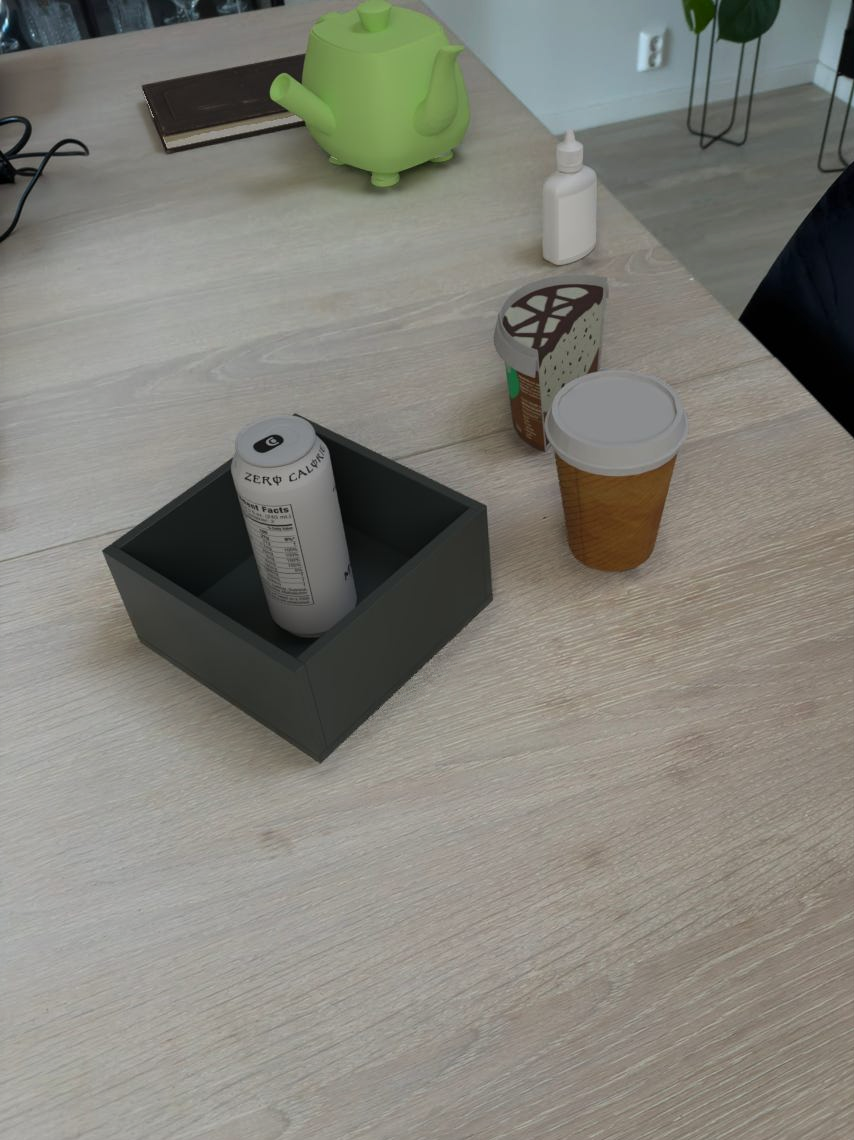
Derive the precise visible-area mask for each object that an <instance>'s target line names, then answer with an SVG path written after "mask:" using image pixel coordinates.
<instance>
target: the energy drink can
mask: <svg viewBox="0 0 854 1140" xmlns="http://www.w3.org/2000/svg"><path fill="white" fill-rule="evenodd" d="M234 448H235V449H234V450H235V452H234V455H233V456H232V457H233V460H232V464H231V473H232V476H233V480H234V484H235V487H236V491H237V494H238V498H239V502H240V505H241V509H242V512H243V516H244V520H245V523H246V527H247V530H248V534H249V538H250V541H251V545H252V548H253V552H254V556H255V559H256V563H257V566H258V570H259V574H260V577H261V581H262V584H263V588H264V592H265V595H266V599H267V602H268V606H269V610H270V613H271V615H272V618H273V619H274V621H275V622H276V623H277V624H278V625H279V626H280V627H282V628H284V629H286V630H288V631H289V632H290V633H292V634H294V635H297V636H300V637H307V638H313V637H321V636H322V635H324V634H325V633H326V632H327V631H328V630H329V629H331V628H332V627H333V626H334V625H335V624H336V623H337V622H339V621H340V620H341V619H342V618H343V617H344V616H346V615H347V614H348V613H349V612H350V611H351V610H353V609H354V608H355V605H356V600H357V595H356V590H355V585H354V580H353V574H352V569H351V564H350V559H349V554H348V548H347V543H346V538H345V533H344V528H343V523H342V517H341V512H340V507H339V502H338V497H337V491H336V486H335V481H334V476H333V471H332V466H331V460H330V455H329V450H328V448H327V446H326V445H325V444H324V442H323V441H322V440H321V439H320V438H319V437H318V436H316V435H315V430H314V428H313V427H312V425H311V424H310V423H309V422H308V421H306V420H304V419H303V418H300V417H297V416H293V414H273V415H267V416H263V417H260V418H258V419H255V420H253V421H252V422H250V423H248V424H247V425H246V426H244V427H243V428H242V429H241V430H240V431H239V433H238V434H237V436H236V438H235V441H234Z"/></svg>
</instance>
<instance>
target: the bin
mask: <svg viewBox="0 0 854 1140" xmlns="http://www.w3.org/2000/svg"><path fill="white" fill-rule="evenodd" d="M292 415H293V416H297V417H300V418H303V419H304V420H306V421H308V422H309V423H310V424H311V425H312V427H313V428H314V430H315V435H316V436H318V437H319V438H320V439H321V440H322V441H323V442H324V444H325V445H326V446H327V448H328V450H329V455H330V460H331V466H332V471H333V476H334V481H335V486H336V491H337V497H338V502H339V507H340V512H341V517H342V523H343V528H344V533H345V538H346V543H347V548H348V554H349V559H350V564H351V569H352V574H353V580H354V585H355V590H356V595H357V600H356V605H355V608H354V609H353V610H351V611H350V612H349V613H348V614H347V615H346V616H344V617H343V618H342V619H341V620H340V621H339V622H337V623H336V624H335V625H334V626H333V627H332V628H331V629H329V630H328V631H327V632H326V633H325V634H324V635H322V636H321V637H313V638H307V637H300V636H297V635H294V634H292V633H290V632H289V631H288V630H286V629H284V628H282V627H280V626H279V625H278V624H277V623H276V622H275V621H274V619H273V618H272V615H271V613H270V610H269V606H268V602H267V599H266V595H265V592H264V588H263V584H262V581H261V577H260V574H259V570H258V566H257V563H256V559H255V556H254V552H253V548H252V545H251V541H250V538H249V534H248V530H247V527H246V523H245V520H244V516H243V512H242V509H241V505H240V502H239V498H238V494H237V491H236V487H235V484H234V480H233V476H232V473H231V464H232V460H233V457H234V456H232V457H231V458H230V459H228V460H227V461H225V462H224V463H223V464H221V465H220V466H219V467H217V468H216V469H214V470H213V471H211V472H209V474H207V475H206V476H204V477H203V478H201V479H200V480H198V481H197V482H196V483H194V484H193V485H192V486H191V487H189V488H187V489H186V490H185V491H183V492H182V493H180V494H178V495H177V496H176V497H174V499H172V500H171V501H169V502H168V503H166V504H165V505H163V506H162V507H160V509H158V510H156V511H155V512H154V513H152V514H150V516H148V517H147V518H144V520H142V521H141V522H140V523H138V524H137V525H135V526H134V527H132V528H131V529H130V530H128V531H127V532H125V533H124V534H123V535H122V536H120V537H119V538H117V539H116V540H114V541H113V542H111V544H109V545H107V546H106V547H105V548H103V549H102V550H101V552H102V554H103V557H104V560H105V562H106V564H107V566H108V569H109V571H110V574H111V577H112V579H113V581H114V583H115V584H114V585H115V586H116V588H117V591H118V593H119V595H120V598H121V600H122V603H123V605H124V608H125V610H126V612H127V615H128V617H129V620H130V623H131V625H132V627H133V629H134V631H135V634H136V636H137V639H138V641H139V643H140V644H142V645H144V647H146V648H148V649H149V650H151V651H152V652H154V653H155V654H156V655H158V656H159V657H161V658H163V659H164V660H166V661H167V662H169V663H170V664H172V665H173V666H174V667H176V668H177V669H179V670H180V671H182V672H184V673H185V674H187V675H188V676H189V677H190V678H193V679H194V680H196V681H197V682H198V683H200V684H201V685H203V686H204V687H206V688H207V689H209V690H210V691H211V692H213V693H215V694H216V695H218V696H219V697H221V698H222V699H224V700H225V701H227V702H228V703H230V704H231V705H233V706H234V707H236V708H237V709H238V710H240V711H241V712H243V713H244V714H246V715H247V716H248V717H251V718H252V719H253V720H255V721H257V723H259V724H261V725H262V726H264V727H265V728H267V729H268V730H270V731H272V732H273V733H274V734H276V735H277V736H279V737H280V738H282V739H283V740H285V741H286V742H288V743H289V744H291V745H292V746H294V747H295V748H296V749H298V750H300V751H301V752H302V753H304V754H305V755H307V756H308V757H310V758H312V759H313V760H314V761H316V762H317V763H319V764H322V763H323V761H325V760H326V759H327V758H328V757H329V756H330V755H331V754H332V753H333V752H335V750H337V748H338V747H340V746H341V744H343V743H344V742H345V741H346V740H347V739H348V738H349V737H350V736H352V734H353V733H354V732H356V730H357V729H359V728H360V727H361V726H362V725H363V724H364V723H365V722H366V721H367V720H368V719H369V718H370V717H371V716H372V715H373V714H374V713H375V712H377V711H378V710H379V709H380V707H382V706H383V705H384V704H385V703H386V702H387V701H388V700H389V699H391V698H392V696H394V694H395V693H397V692H398V691H399V690H400V689H401V688H402V687H403V686H404V685H405V684H406V683H407V682H408V681H409V680H411V678H413V676H415V675H416V674H417V673H418V672H419V671H420V670H421V669H423V667H424V666H425V665H426V664H427V663H428V662H429V661H430V660H431V659H433V657H435V656H436V655H437V654H438V653H439V652H440V651H441V650H442V649H443V648H444V647H445V646H446V645H447V644H448V643H450V641H452V639H454V638H455V637H456V636H457V635H458V634H459V633H460V632H461V631H462V630H463V629H464V628H465V627H466V626H467V625H468V624H469V623H470V622H471V621H473V620H474V619H475V618H476V617H477V616H478V615H479V614H480V613H481V612H482V611H484V609H485V608H486V607H487V606H489V605H490V603H492V602H493V600H494V593H493V577H492V564H491V549H490V547H491V546H490V535H489V519H488V506H487V505H486V504H484V503H482V502H480V501H478V500H475V499H473V498H471V497H470V496H468V495H465V494H463V493H462V492H460V491H457V490H456V489H453V488H451V487H449V486H447V485H444V484H443V483H441V482H439V481H437V480H434V479H433V478H430V477H428V476H426V475H424V474H422V473H420V472H418V471H416V470H414V469H412V468H411V467H410V468H409V467H407V466H405V465H403V464H402V463H400V462H397V461H395V460H393V459H391V458H389V457H387V456H385V455H383V454H381V453H379V452H376V451H375V450H372V449H371V448H369V447H366V446H364V445H363V444H360V443H359V442H356V441H353V440H352V439H349V438H348V437H346V436H344V435H342V434H340V433H337V432H335V431H333V430H331V429H329V428H327V427H325V426H323V425H321V424H319V423H317V422H315V421H312V420H310V419H309V418H306V417H304V416H302V415H300V414H298V413H293V414H292Z"/></svg>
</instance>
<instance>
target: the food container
mask: <svg viewBox="0 0 854 1140" xmlns="http://www.w3.org/2000/svg"><path fill="white" fill-rule="evenodd" d="M606 299H610V290H609V283H608V277H607V276H602V275H597V274H590V273H589V274H588V273H565V274H557V275H551V276H550V275H549V276H546V277H542V278H538V279H535V280H533V281H530V282H528V283H526V284H524V285H522V286H520V287H518V288H517V289H516V290H514V291H513V292H512V293H510V294H509V296H508V297H507V298H506V299H505V300H504V302H503V303H502V306H501V307H500V310H499V312H498V313H497V317H496V321H495V327H494V332H493V346H494V349H495V351H496V353H497V354H498V356H499V358H500V359H501V360H502V361H503V362H504V365H505V374H506V381H507V388H508V395H509V403H510V409H511V411H510V412H511V418H512V423H513V424H512V425H513V427H514V430H515V432H516V434H517V435H518V437H519V438H520V439H521V440H522V441H523V442H525V443H526V444H528V445H529V446H530V447H532V448H534V449H536V450H539V451H542V452H544V453H546V452H547V451H548V449H549V448H550V447H552V446H551V444H550V442H549V440H548V439H547V436H546V432H545V426H544V425H545V418H546V415H547V412H548V410H549V409H550V407H551V406H552V403H553V400H554V398H555V396H556V395H557V393H558V392H559V391H560V390H561V389H562V388H563V387H564V386H565V385H566V384H568V383H569V382H571V381H572V380H574V379H577V378H579V377H582V376H585V375H587V374H590V373H594V372H599V371H601V361H602V348H603V335H604V324H605V310H606Z"/></svg>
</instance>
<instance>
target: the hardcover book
mask: <svg viewBox="0 0 854 1140" xmlns="http://www.w3.org/2000/svg"><path fill="white" fill-rule="evenodd" d="M305 56H306V52H305V53H299V54H295V55H290V56H284V57H279V58H274V59H270V60H264V61H259V62H254V63H248V64H244V65H237V66H233V67H228V68H223V69H217V70H212V71H206V72H201V73H197V74H191V75H185V76H181V77H176V78H175V77H174V78H170V79H165V80H161V81H155V82H151V83H150V82H149V83H145V84H141V91H142V92H143V91H144V94H145V96H146V99H147V101H148V104H149V106H150V109H151V111H152V114H153V116H154V118H153V117H152V116H151V115H150V117H151V119H152V122H153V124H154V126H155V129H156V132H157V134H158V137H159V139H160V142H161V144H162V147H163V149H164V152H165V154H172V153H177V152H182V151H186V150H191V149H196V148H201V147H206V146H211V145H214V144H220V143H227V142H230V141H234V140H235V141H236V140H240V139H244V138H249V137H254V136H260V135H264V134H269V133H274V132H279V131H284V130H289V129H293V128H298V127H303V126H306V124H305V121H304V120H302V121H297V122H293V123H288V124H283V125H278V126H273V127H268V128H264V129H259V130H254V131H249V132H244V133H239V134H234V135H230V136H225V137H220V138H215V139H210V140H205V141H201V142H196V143H191V144H186V145H181V146H176V147H171V148H167V147H166V144H165V142H164V139H165V141H166V143H168V142H172V141H177V140H179V139H185V138H188V137H191V136H194V135H200V134H202V133H209V132H211V131H220V130H224V129H229V128H234V127H237V126H243V125H251V124H258V123H262V122H265V121H273V120H277V119H283V118H288V117H291V116H294V115H295V114H293V113H292V112H290V111H289V110H287V109H286V108H284V107H282V106H281V105H279V104H278V103H276V102H275V101H273V100H272V99H271V97H270V88H271V85H272V83H273V81H274V80H275V79H276V77H277V76H279V75H280V74H282V73H287V74H288V75H290V76H291V77H292V78H294V79H295V80H296V81H297V82H299V83H300V84H301V85H302V75H303V67H304V61H305ZM144 94H143V95H144ZM163 137H164V139H163Z"/></svg>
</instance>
